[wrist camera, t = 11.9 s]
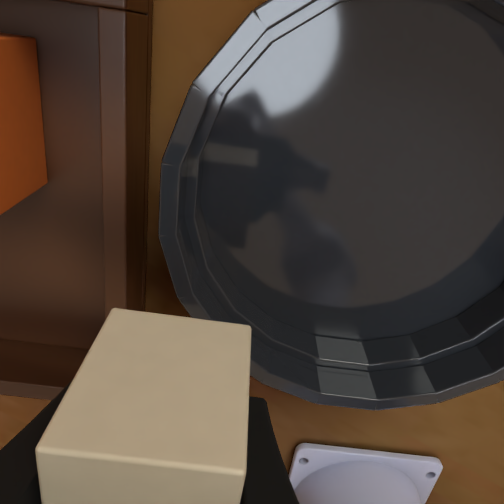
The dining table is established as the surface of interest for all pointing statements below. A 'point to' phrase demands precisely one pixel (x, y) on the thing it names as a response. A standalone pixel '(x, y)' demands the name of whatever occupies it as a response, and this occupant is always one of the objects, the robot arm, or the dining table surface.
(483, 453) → the dining table surface
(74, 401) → the block
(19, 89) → the orange rectangular block
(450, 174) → the bowl
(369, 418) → the dining table surface
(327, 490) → the robot arm
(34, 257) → the holder
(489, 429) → the dining table surface
